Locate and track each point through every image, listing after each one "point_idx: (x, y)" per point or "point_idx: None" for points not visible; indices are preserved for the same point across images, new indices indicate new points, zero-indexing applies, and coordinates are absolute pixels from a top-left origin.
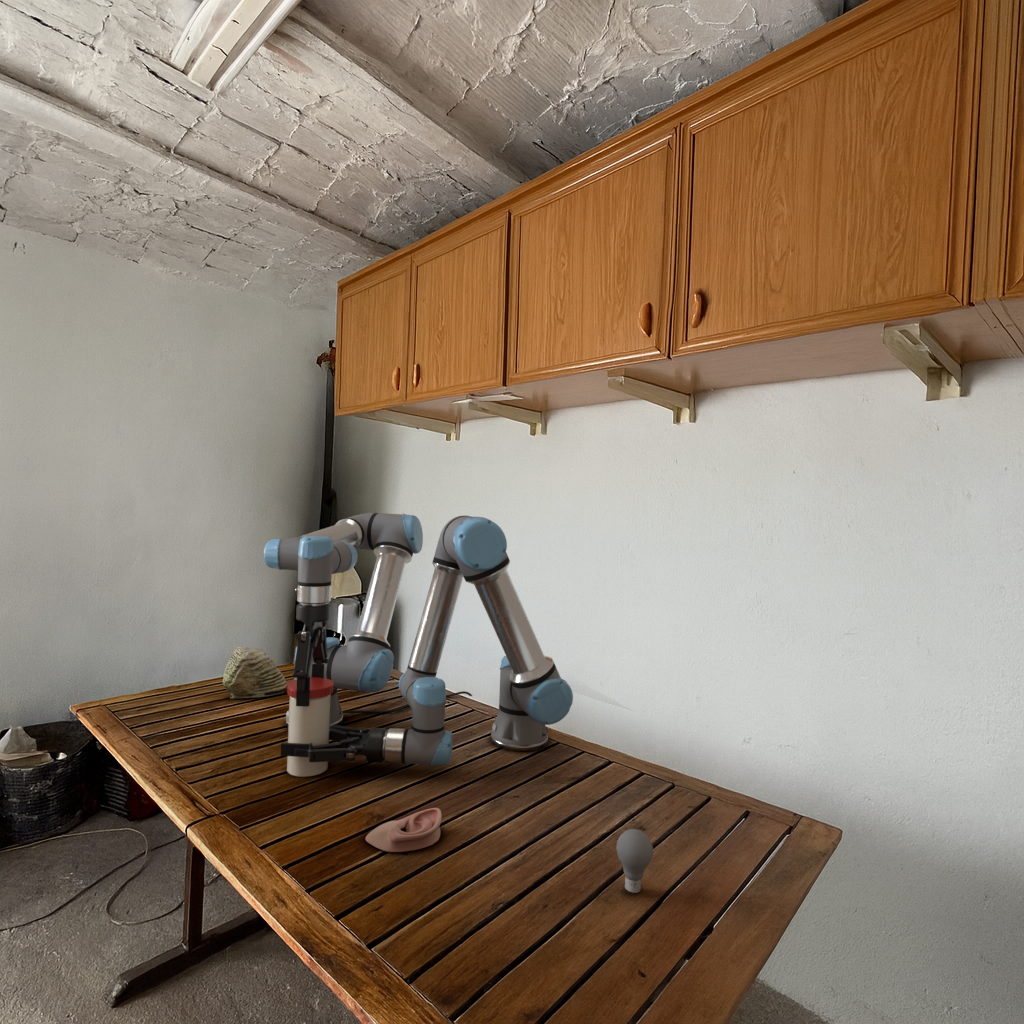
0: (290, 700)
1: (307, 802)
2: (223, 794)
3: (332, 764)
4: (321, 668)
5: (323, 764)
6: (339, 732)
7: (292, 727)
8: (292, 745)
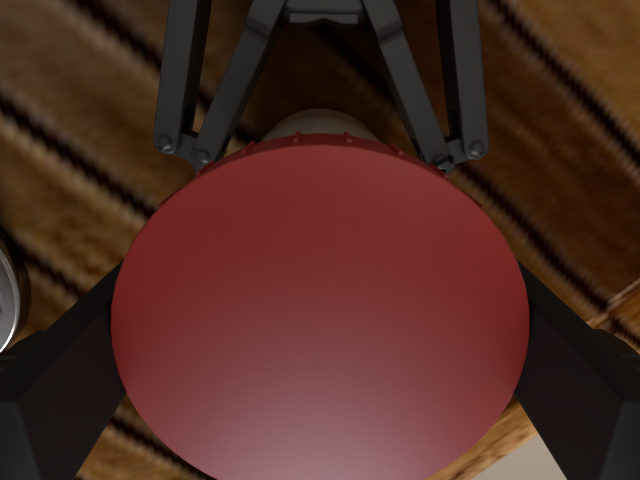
0: None
1: (572, 100)
2: None
3: (278, 100)
4: (52, 385)
5: (350, 117)
6: (248, 81)
7: None
8: None
